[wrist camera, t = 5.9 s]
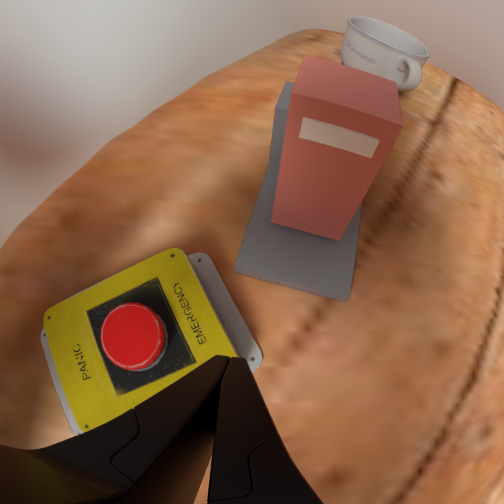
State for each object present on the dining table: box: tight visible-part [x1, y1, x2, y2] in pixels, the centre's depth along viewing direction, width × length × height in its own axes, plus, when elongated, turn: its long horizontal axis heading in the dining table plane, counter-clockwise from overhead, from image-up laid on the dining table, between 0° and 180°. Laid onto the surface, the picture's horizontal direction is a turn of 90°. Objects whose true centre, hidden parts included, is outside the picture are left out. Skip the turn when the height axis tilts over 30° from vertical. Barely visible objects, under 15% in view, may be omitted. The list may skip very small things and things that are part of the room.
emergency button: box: [41, 248, 263, 436], centre depth 17 cm, size 9×4×15 cm
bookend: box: [234, 81, 362, 302], centre depth 20 cm, size 13×8×7 cm, turn 164°
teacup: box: [341, 16, 430, 91], centre depth 29 cm, size 14×11×8 cm
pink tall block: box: [271, 55, 403, 241], centre depth 17 cm, size 4×5×11 cm
